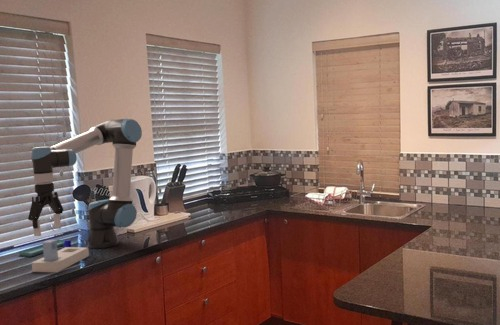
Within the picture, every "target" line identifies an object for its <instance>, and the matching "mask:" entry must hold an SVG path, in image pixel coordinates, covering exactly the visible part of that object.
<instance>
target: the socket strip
mask: <svg viewBox="0 0 500 325" xmlns="http://www.w3.org/2000/svg"><path fill="white" fill-rule="evenodd" d="M62 248H63V247H62ZM62 248H61V249H57V251H58V259H57V260H55V261H53V262H50V261H44V256H43V257H41V258H38V259H37V260H34V261H32V262H31V269H32V270H31V271H32V272H33V273H56V274H57V273H59V272H61V271H63V270H65V269H66V268H68V267H71V266H72V265H74V264H76V263H78V262H80V261H82V260H84V259H87V258H88V257H89V256H90V255H89V254H90V252H89V247H74V246H71V247H65V248H63V249H62Z"/></svg>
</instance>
